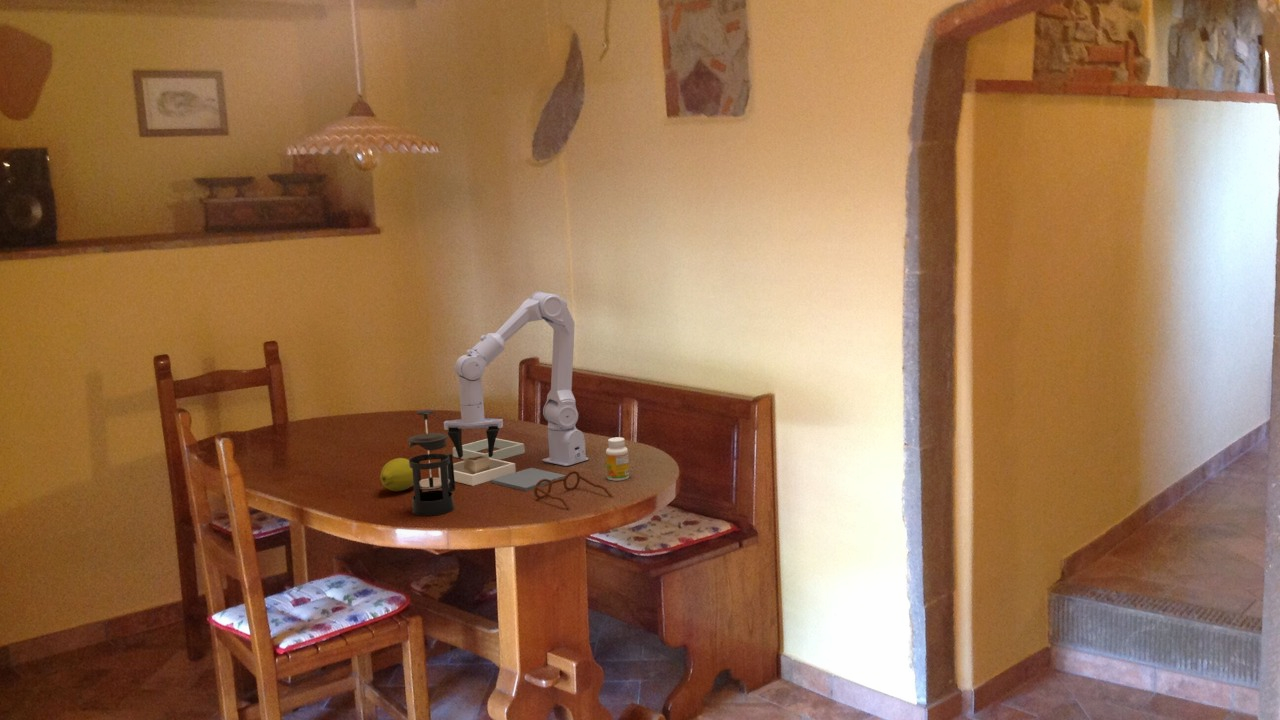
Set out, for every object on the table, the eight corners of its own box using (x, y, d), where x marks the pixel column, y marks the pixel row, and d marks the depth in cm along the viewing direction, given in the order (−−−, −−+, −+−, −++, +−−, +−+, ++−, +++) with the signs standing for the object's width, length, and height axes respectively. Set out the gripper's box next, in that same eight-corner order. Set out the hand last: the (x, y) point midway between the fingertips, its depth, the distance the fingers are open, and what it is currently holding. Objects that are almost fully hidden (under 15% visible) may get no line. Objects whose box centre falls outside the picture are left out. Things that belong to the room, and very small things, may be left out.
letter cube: (490, 475, 280) (488, 457, 279) (476, 479, 277) (474, 461, 276) (478, 472, 283) (477, 454, 282) (464, 476, 280) (463, 458, 279)
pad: (566, 478, 273) (566, 475, 272) (525, 491, 263) (525, 487, 263) (531, 470, 282) (531, 467, 281) (491, 482, 272) (490, 479, 272)
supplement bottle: (604, 477, 272) (602, 438, 271) (625, 474, 274) (622, 435, 273) (611, 482, 267) (609, 442, 266) (632, 479, 269) (630, 440, 268)
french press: (430, 519, 245) (421, 417, 241) (401, 513, 251) (392, 413, 247) (468, 505, 254) (460, 406, 251) (439, 499, 260) (431, 403, 256)
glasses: (578, 488, 265) (577, 468, 264) (614, 499, 255) (612, 477, 254) (533, 501, 256) (532, 480, 255) (568, 512, 247) (567, 490, 246)
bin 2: (515, 473, 280) (515, 463, 280) (472, 485, 270) (472, 475, 270) (481, 465, 289) (481, 455, 289) (439, 477, 280) (438, 467, 279)
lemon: (404, 483, 276) (401, 452, 274) (426, 487, 271) (424, 455, 270) (370, 495, 267) (367, 462, 266) (393, 499, 263) (390, 466, 261)
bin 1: (524, 452, 300) (524, 443, 300) (485, 463, 291) (484, 454, 290) (492, 446, 310) (492, 437, 309) (453, 456, 300) (452, 447, 300)
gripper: (503, 399, 280) (507, 451, 282) (446, 401, 281) (450, 453, 283) (498, 404, 273) (502, 458, 276) (440, 406, 274) (444, 460, 277)
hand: (475, 456), depth 279 cm, fingers open, 7 cm apart
